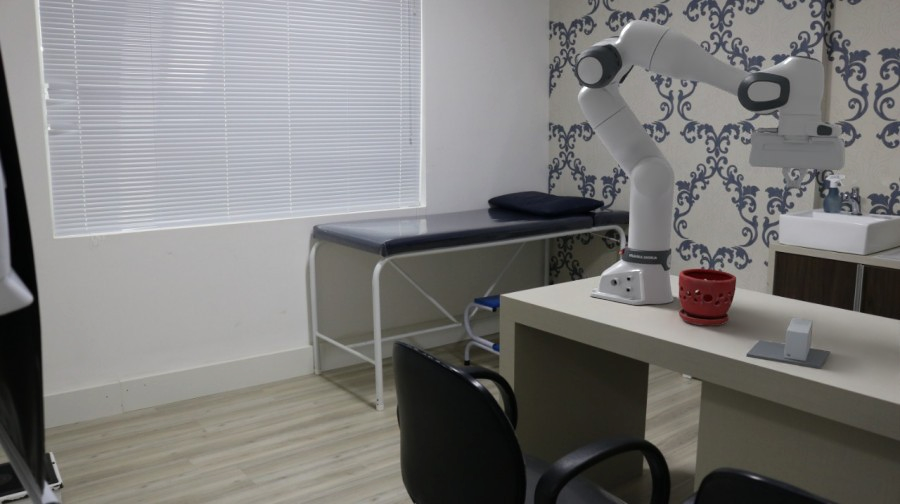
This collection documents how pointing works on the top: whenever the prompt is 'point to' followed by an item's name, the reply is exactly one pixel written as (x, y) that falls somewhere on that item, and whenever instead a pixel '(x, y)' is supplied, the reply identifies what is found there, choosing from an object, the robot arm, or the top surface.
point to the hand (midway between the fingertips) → (793, 188)
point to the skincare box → (798, 339)
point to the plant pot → (706, 296)
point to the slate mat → (777, 354)
